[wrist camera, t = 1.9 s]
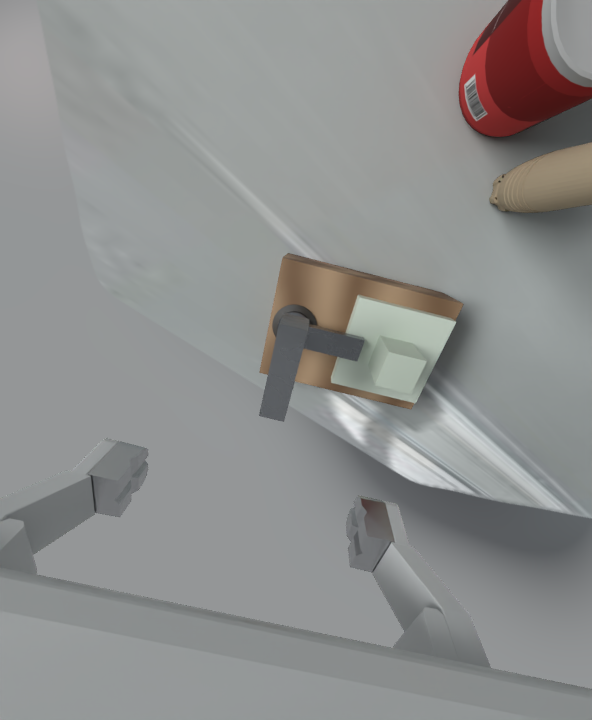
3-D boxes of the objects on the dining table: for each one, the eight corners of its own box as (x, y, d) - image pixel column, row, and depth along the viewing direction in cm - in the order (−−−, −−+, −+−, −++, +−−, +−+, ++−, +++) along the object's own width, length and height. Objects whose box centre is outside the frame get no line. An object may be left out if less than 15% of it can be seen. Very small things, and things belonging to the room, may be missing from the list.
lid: (450, 318, 27) (478, 337, 22) (412, 397, 31) (429, 428, 26) (357, 294, 26) (366, 309, 22) (330, 377, 30) (332, 404, 26)
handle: (460, 209, 27) (598, 191, 14) (515, 137, 25) (752, 29, 11) (497, 237, 28) (663, 248, 15) (555, 171, 26) (820, 108, 12)
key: (370, 309, 27) (396, 353, 17) (347, 373, 30) (360, 439, 20) (286, 288, 27) (267, 321, 17) (271, 354, 30) (249, 413, 20)
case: (442, 292, 31) (464, 304, 26) (399, 386, 36) (411, 410, 31) (288, 253, 30) (282, 257, 26) (267, 353, 35) (259, 373, 31)
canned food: (520, 153, 25) (651, 104, 15) (436, 121, 25) (515, 51, 15) (582, 36, 22) (800, -121, 12) (487, -2, 22) (631, -198, 12)
